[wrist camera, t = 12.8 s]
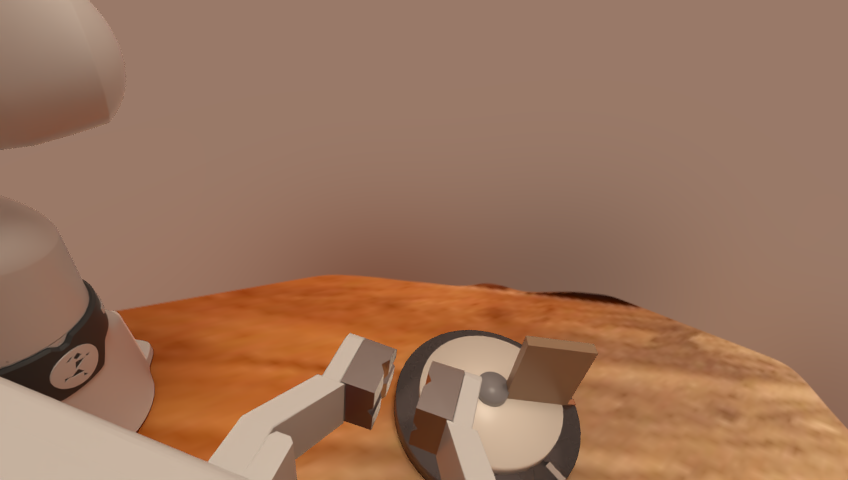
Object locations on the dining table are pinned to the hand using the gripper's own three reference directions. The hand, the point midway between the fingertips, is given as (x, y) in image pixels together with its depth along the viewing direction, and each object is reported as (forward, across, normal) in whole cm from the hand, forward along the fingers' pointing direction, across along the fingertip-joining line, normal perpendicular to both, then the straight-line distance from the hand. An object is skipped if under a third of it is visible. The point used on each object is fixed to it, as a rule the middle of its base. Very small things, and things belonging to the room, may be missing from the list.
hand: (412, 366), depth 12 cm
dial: (+21, -6, +30) cm, 37 cm away
